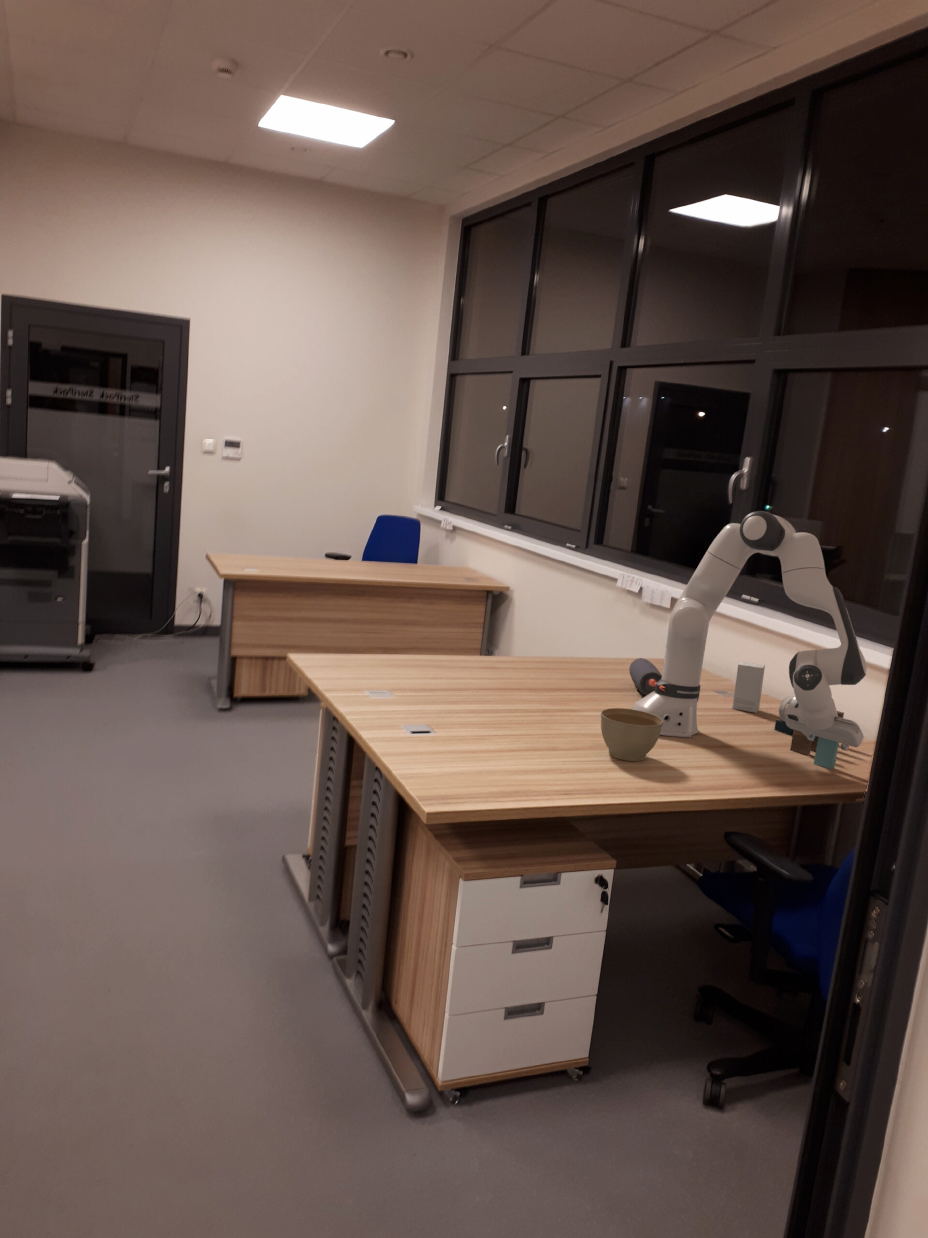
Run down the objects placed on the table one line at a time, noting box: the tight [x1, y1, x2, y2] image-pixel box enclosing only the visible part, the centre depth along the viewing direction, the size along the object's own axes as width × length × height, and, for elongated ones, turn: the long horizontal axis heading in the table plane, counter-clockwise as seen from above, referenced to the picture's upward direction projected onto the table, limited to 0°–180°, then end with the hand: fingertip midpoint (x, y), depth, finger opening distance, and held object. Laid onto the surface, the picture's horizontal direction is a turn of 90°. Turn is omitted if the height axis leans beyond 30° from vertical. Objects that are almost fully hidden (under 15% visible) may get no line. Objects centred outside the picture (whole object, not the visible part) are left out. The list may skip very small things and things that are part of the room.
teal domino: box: [813, 737, 840, 770], centre depth 259 cm, size 2×5×10 cm, turn 45°
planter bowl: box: [600, 707, 663, 762], centre depth 248 cm, size 16×16×11 cm
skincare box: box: [731, 661, 766, 714], centre depth 316 cm, size 8×7×16 cm
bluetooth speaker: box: [628, 657, 662, 696], centre depth 326 cm, size 23×9×10 cm, turn 179°
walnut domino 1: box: [789, 730, 812, 756], centre depth 271 cm, size 2×5×10 cm, turn 46°
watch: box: [773, 696, 794, 736], centre depth 292 cm, size 6×8×11 cm
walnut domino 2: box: [810, 736, 818, 753], centre depth 275 cm, size 2×5×10 cm, turn 45°
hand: (828, 743), depth 259 cm, fingers open, 8 cm apart
